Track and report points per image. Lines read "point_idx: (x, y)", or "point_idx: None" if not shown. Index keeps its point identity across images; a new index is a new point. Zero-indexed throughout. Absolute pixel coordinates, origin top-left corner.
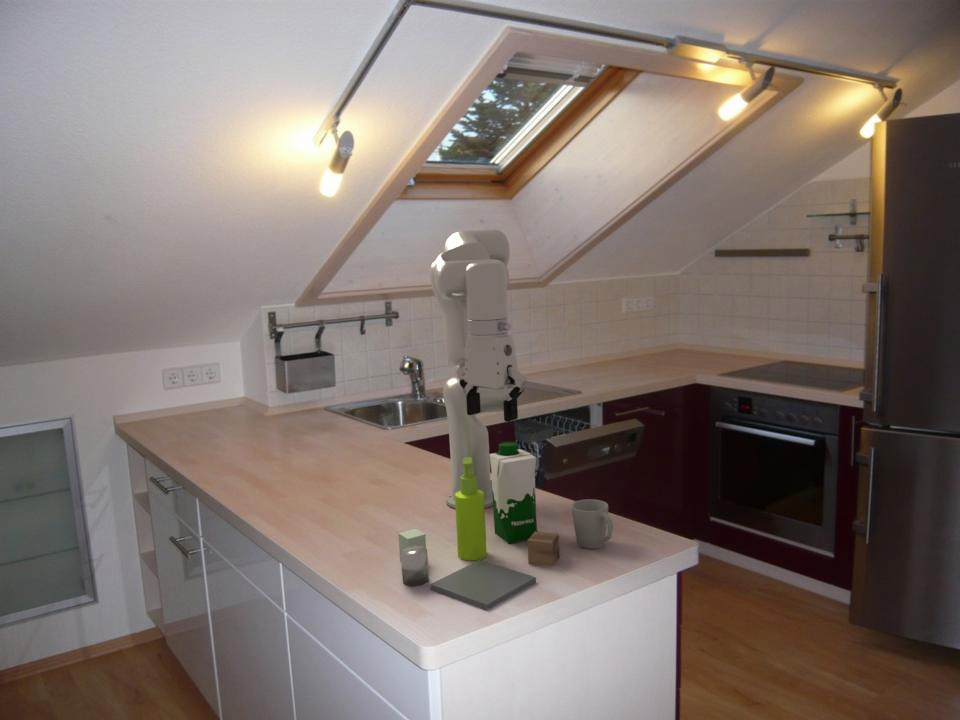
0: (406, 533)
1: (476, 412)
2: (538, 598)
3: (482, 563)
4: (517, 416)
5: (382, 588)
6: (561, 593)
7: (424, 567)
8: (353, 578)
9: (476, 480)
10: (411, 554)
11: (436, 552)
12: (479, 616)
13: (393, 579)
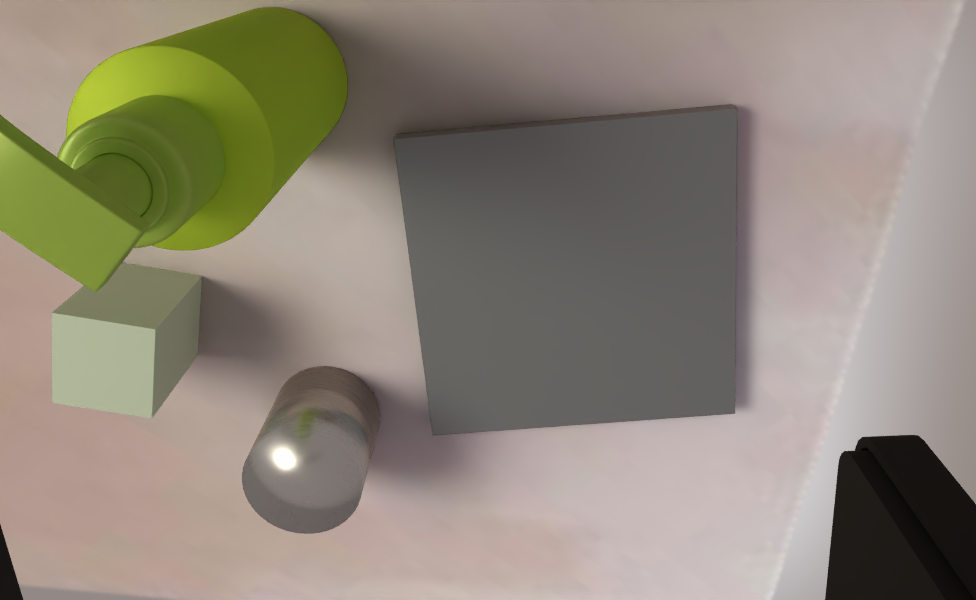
0: (82, 381)
1: (8, 578)
2: (834, 211)
3: (435, 164)
4: (928, 454)
5: None
6: (890, 113)
7: (369, 442)
8: (139, 540)
9: (187, 147)
10: (327, 511)
11: None
12: (740, 447)
13: None
